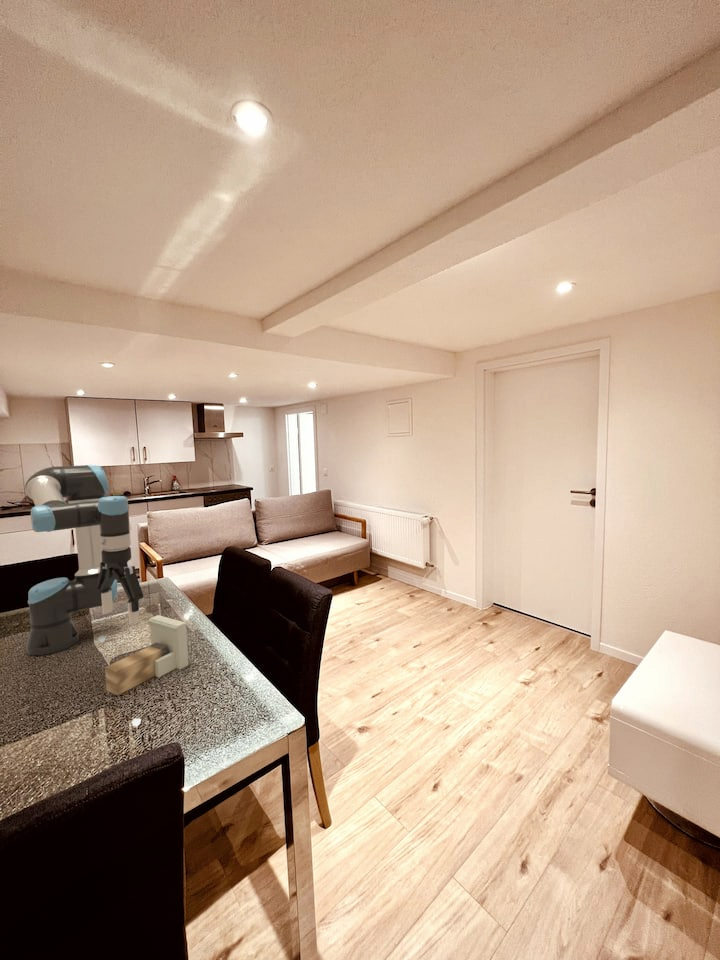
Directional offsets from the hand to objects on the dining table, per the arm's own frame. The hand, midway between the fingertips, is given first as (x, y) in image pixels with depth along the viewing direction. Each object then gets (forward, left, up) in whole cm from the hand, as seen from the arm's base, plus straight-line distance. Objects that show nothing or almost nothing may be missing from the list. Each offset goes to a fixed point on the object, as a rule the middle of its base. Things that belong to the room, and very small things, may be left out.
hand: (120, 617), depth 122 cm
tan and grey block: (+5, +1, -19) cm, 19 cm away
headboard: (+5, +9, -19) cm, 21 cm away
